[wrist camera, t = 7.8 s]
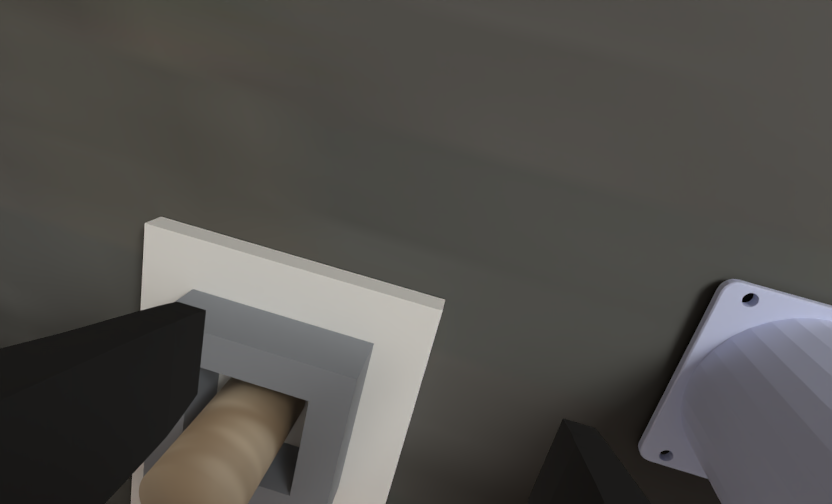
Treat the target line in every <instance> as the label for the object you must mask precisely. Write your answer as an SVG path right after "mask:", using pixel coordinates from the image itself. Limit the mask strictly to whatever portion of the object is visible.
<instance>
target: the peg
mask: <svg viewBox="0 0 832 504" xmlns="http://www.w3.org/2000/svg"><path fill="white" fill-rule="evenodd" d="M305 402H306V400H303V399H300V398H297V397H293V396H290V395H287V394H284V393H281V392H277V391H274V390H271V389H268V388H265V387H261V386H258V385H255V384H252V383H249V382H245V381H242V380H239V379H236V378H233V377H231V378H230V379H229V380H228V382H227V383H226V384H225V385H224V386H223V387H222V388H221V390H220V391H219V392H218V393H217V394H216V395H215V396H214V397H213V399H212V400H211V401H210V402H209V403H208V404H207V405H206V407H205V408H204V409H203V410H202V411H201V412H200V413H199V414H198V416H197V417H196V418H195V419H194V420H193V421H192V422H191V424H190V425H189V426H188V427H187V428H186V429H185V430H184V431H183V433H182V434H181V435H180V436H179V437H178V438H177V439H176V441H175V442H174V443H173V444H172V445H171V446H170V447H169V448H168V450H167V451H166V452H165V453H164V454H163V455H162V456H161V458H160V459H159V460H158V461H157V462H156V463H155V464H154V465H153V467H152V468H151V469H150V470H149V471H148V472H147V473H146V475H145V476H144V477H143V479H142V480H141V483H140V486H139V498H140V502H141V504H248V503H249V501H250V499H251V497H252V496H253V494H254V492H255V491H256V489H257V487H258V485H259V484H260V482H261V480H262V479H263V477H264V475H265V474H266V472H267V470H268V468H269V467H270V465H271V463H272V462H273V460H274V458H275V457H276V455H277V453H278V451H279V450H280V448H281V446H282V445H283V443H284V441H285V439H286V438H287V436H288V434H289V433H290V431H291V429H292V428H293V426H294V424H295V422H296V421H297V419H298V417H299V416H300V414H301V412H302V410H303V408H304V406H305Z"/></svg>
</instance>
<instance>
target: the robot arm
mask: <svg viewBox="0 0 832 504" xmlns="http://www.w3.org/2000/svg"><path fill="white" fill-rule="evenodd" d="M749 293H753V294H754V295H753V298H752V299H751V300H750V301H748V302H742V299H743V297H744V296H745V295H746V294H749ZM205 316H206V310H204V309H200V308H197V307H194V306H190V305H187V304H184V303H181V302H173V303H168V304H164V305H160V306H156V307H152V308H148V309H145V310H141V311H138V312H134V313H131V314H127V315H124V316H120V317H117V318H113V319H110V320H106V321H103V322H99V323H96V324H92V325H89V326H85V327H82V328H78V329H75V330H71V331H68V332H64V333H60V334H57V335H53V336H49V337H45V338H41V339H37V340H33V341H29V342H25V343H21V344H17V345H13V346H9V347H5V348H1V349H0V504H105V503H106V501H107V500H108V499H109V498H110V497H111V496H112V495H113V494H114V493H115V492H116V491H117V490H118V489H119V488H120V487H121V486H122V485H123V483H124V482H125V481H126V480H127V479H128V478H129V477H130V476H131V475H132V474H133V473H134V472H135V471H136V470H137V469H138V468H139V466H140V465H141V464H142V463H143V462H144V461H145V460H146V459H147V458H148V457H149V456H150V455H151V453H152V452H153V451H154V450H155V449H156V448H157V447H158V446H159V445H160V444H161V443H162V441H163V440H164V439H165V438H166V437H167V436H168V434H169V433H170V432H171V430H172V429H173V428H174V426H175V425H176V424H177V422H178V421H179V420H180V418H181V417H182V416H183V414H184V413H185V411H186V410H187V408H188V407H189V406H190V404H191V403H192V401H193V400H194V398H195V397H196V396H197V394H198V384H199V374H200V365H201V355H202V345H203V336H204V326H205ZM638 448H639V451H640V454H641V456H642V457H643V458H644V459H646V460H648V461H651V462H654V463H657V464H661V465H664V466H667V467H670V468H674V469H677V470H680V471H683V472H687V473H690V474H693V475H696V476H700V477H703V478H706V479H709V481H710V483H711V485H712V487H713V489H714V491H715V493H716V495H717V497H718V499H719V500H720V502H721V504H832V305H828V304H824V303H821V302H817V301H814V300H810V299H807V298H803V297H799V296H796V295H792V294H789V293H785V292H782V291H778V290H774V289H771V288H767V287H764V286H760V285H756V284H753V283H749V282H746V281H742V280H739V279H729V280H726V281H724V282H722V283H721V284H720V285H719V286H718V288H717V290H716V292H715V294H714V295H713V297H712V299H711V301H710V303H709V305H708V307H707V309H706V311H705V313H704V315H703V317H702V319H701V321H700V323H699V325H698V327H697V329H696V331H695V333H694V335H693V337H692V339H691V341H690V343H689V345H688V347H687V348H686V350H685V352H684V354H683V356H682V358H681V360H680V362H679V364H678V366H677V368H676V370H675V372H674V374H673V376H672V378H671V380H670V382H669V384H668V386H667V388H666V390H665V392H664V394H663V396H662V398H661V400H660V402H659V403H658V405H657V407H656V409H655V411H654V413H653V415H652V417H651V419H650V421H649V423H648V425H647V427H646V429H645V431H644V433H643V435H642V437H641V439H640V441H639V443H638ZM665 450H669V452H668V453H667V454H660V453H661V452H662V451H665ZM528 504H651V503H650V502H649V500H648V499H647V498H646V496H645V495H644V494H643V492H642V491H641V490H640V488H639V487H638V485H637V484H636V483H635V481H634V480H633V479H632V477H631V476H630V474H629V473H628V472H627V470H626V469H625V468H624V466H623V465H622V463H621V462H620V461H619V459H618V458H617V456H616V455H615V454H614V452H613V451H612V450H611V448H610V447H609V445H608V444H607V443H606V441H605V440H604V439H603V437H602V436H601V435H600V434H599V432H598V431H597V430H596V429H595V428H593V427H589V426H586V425H583V424H580V423H576V422H573V421H570V420H566V419H563V420H562V422H561V425H560V427H559V429H558V432H557V434H556V436H555V439H554V441H553V443H552V446H551V448H550V450H549V452H548V455H547V457H546V459H545V462H544V464H543V466H542V469H541V471H540V473H539V476H538V478H537V480H536V483H535V485H534V487H533V490H532V492H531V494H530V497H529V501H528Z"/></svg>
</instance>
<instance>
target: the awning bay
mask: <svg viewBox="0 0 832 504" xmlns="http://www.w3.org/2000/svg"><path fill="white" fill-rule="evenodd" d="M173 302H181V303H184V304H187V305H190V306H194V307H197V308H200V309H204V310H206V316H205V326H204V336H203V345H202V355H201V365H200V374H199V384H198V394H197V396H196V397H195V398H194V400H193V401H192V403H191V404H190V406H189V407H188V408H187V410H186V411H185V413H184V414H183V416H182V417H181V418H180V420H179V421H178V422H177V424H176V425H175V426H174V428H173V429H172V430H171V432H170V433H169V434H168V436H167V437H166V438H165V439H164V440H163V441H162V443H161V444H160V445H159V446H158V447H157V448H156V449H155V450H154V451H153V452H152V453H151V455H150V456H149V457H148V458H147V459H146V460H145V461H144V462H143V463H142V464H141V465H140V466H139V468H138V469H137V470H136V471H135V472H134V473H133V474H132V489H131V504H141V502H140V498H139V486H140V483H141V480H142V479H143V477H144V476H145V475H146V473H147V472H148V471H149V470H150V469H151V468H152V467H153V465H154V464H155V463H156V462H157V461H158V460H159V459H160V458H161V456H162V455H163V454H164V453H165V452H166V451H167V450H168V448H169V447H170V446H171V445H172V444H173V443H174V442H175V441H176V439H177V438H178V437H179V436H180V435H181V434H182V433H183V431H184V430H185V429H186V428H187V427H188V426H189V425H190V424H191V422H192V421H193V420H194V419H195V418H196V417H197V416H198V414H199V413H200V412H201V411H202V410H203V409H204V408H205V407H206V405H207V404H208V403H209V402H210V401H211V400H212V399H213V397H214V396H215V395H216V394H217V393H218V392H219V391H220V390H221V388H222V387H223V386H224V385H225V384H226V383H227V382H228V380H229V379H230V378H231V377H233V378H236V379H239V380H242V381H245V382H249V383H252V384H255V385H258V386H261V387H265V388H268V389H271V390H274V391H277V392H281V393H284V394H287V395H290V396H293V397H297V398H300V399H303V400H306V402H305V406H304V408H303V410H302V412H301V414H300V416H299V417H298V419H297V421H296V422H295V424H294V426H293V428H292V429H291V431H290V433H289V434H288V436H287V438H286V439H285V441H284V443H283V445H282V446H281V448H280V450H279V451H278V453H277V455H276V457H275V458H274V460H273V462H272V463H271V465H270V467H269V468H268V470H267V472H266V474H265V475H264V477H263V479H262V480H261V482H260V484H259V485H258V487H257V489H256V491H255V492H254V494H253V496H252V497H251V499H250V501H249V503H248V504H386V500H387V497H388V494H389V490H390V487H391V483H392V480H393V477H394V473H395V470H396V466H397V463H398V460H399V456H400V453H401V450H402V446H403V443H404V439H405V436H406V433H407V429H408V426H409V423H410V419H411V416H412V412H413V409H414V406H415V402H416V399H417V395H418V392H419V389H420V385H421V382H422V379H423V375H424V372H425V368H426V365H427V362H428V358H429V355H430V351H431V348H432V345H433V341H434V338H435V335H436V331H437V328H438V324H439V321H440V318H441V314H442V311H443V307H444V303H445V300H444V299H441V298H437V297H434V296H431V295H427V294H424V293H420V292H417V291H414V290H410V289H407V288H403V287H400V286H396V285H393V284H390V283H386V282H383V281H379V280H376V279H373V278H369V277H366V276H362V275H359V274H355V273H352V272H349V271H345V270H342V269H338V268H335V267H332V266H328V265H325V264H321V263H318V262H314V261H311V260H308V259H304V258H301V257H297V256H294V255H291V254H287V253H284V252H280V251H277V250H273V249H270V248H267V247H263V246H260V245H256V244H253V243H250V242H246V241H243V240H239V239H236V238H232V237H229V236H226V235H222V234H219V233H215V232H212V231H209V230H205V229H202V228H198V227H195V226H191V225H188V224H185V223H181V222H178V221H174V220H171V219H168V218H164V217H159V218H156V219H154V220H152V221H149V222H147V223H145V231H144V251H143V270H142V290H141V310H145V309H148V308H152V307H156V306H160V305H164V304H168V303H173ZM141 310H140V311H141Z"/></svg>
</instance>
